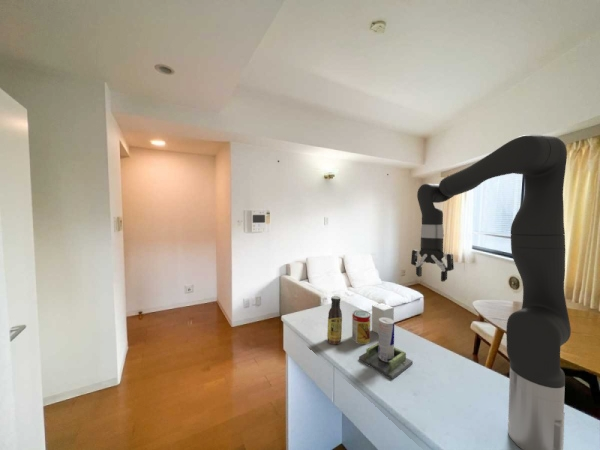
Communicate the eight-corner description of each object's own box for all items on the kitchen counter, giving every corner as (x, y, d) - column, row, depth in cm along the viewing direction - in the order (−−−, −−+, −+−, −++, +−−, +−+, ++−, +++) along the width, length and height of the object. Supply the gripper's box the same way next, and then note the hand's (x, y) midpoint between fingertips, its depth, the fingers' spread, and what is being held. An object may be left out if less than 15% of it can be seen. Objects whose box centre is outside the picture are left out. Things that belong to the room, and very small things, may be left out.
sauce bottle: (330, 346, 98) (330, 300, 97) (325, 338, 104) (325, 295, 103) (344, 344, 100) (344, 299, 99) (338, 337, 106) (338, 294, 105)
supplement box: (394, 333, 109) (394, 307, 109) (382, 337, 106) (383, 310, 105) (382, 327, 116) (382, 302, 115) (371, 330, 112) (371, 305, 112)
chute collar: (412, 364, 86) (412, 353, 86) (392, 379, 78) (392, 367, 78) (379, 347, 97) (379, 337, 97) (359, 359, 89) (359, 349, 89)
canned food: (373, 342, 102) (374, 315, 101) (359, 345, 99) (359, 318, 98) (362, 333, 109) (363, 308, 109) (348, 336, 106) (349, 311, 106)
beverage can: (395, 364, 84) (395, 324, 84) (379, 362, 85) (379, 322, 85) (392, 355, 90) (392, 317, 89) (377, 353, 91) (377, 316, 90)
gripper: (408, 235, 90) (407, 276, 91) (448, 238, 79) (447, 284, 79) (417, 235, 95) (416, 273, 95) (457, 237, 83) (456, 281, 84)
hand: (430, 278), depth 87 cm, fingers open, 8 cm apart
